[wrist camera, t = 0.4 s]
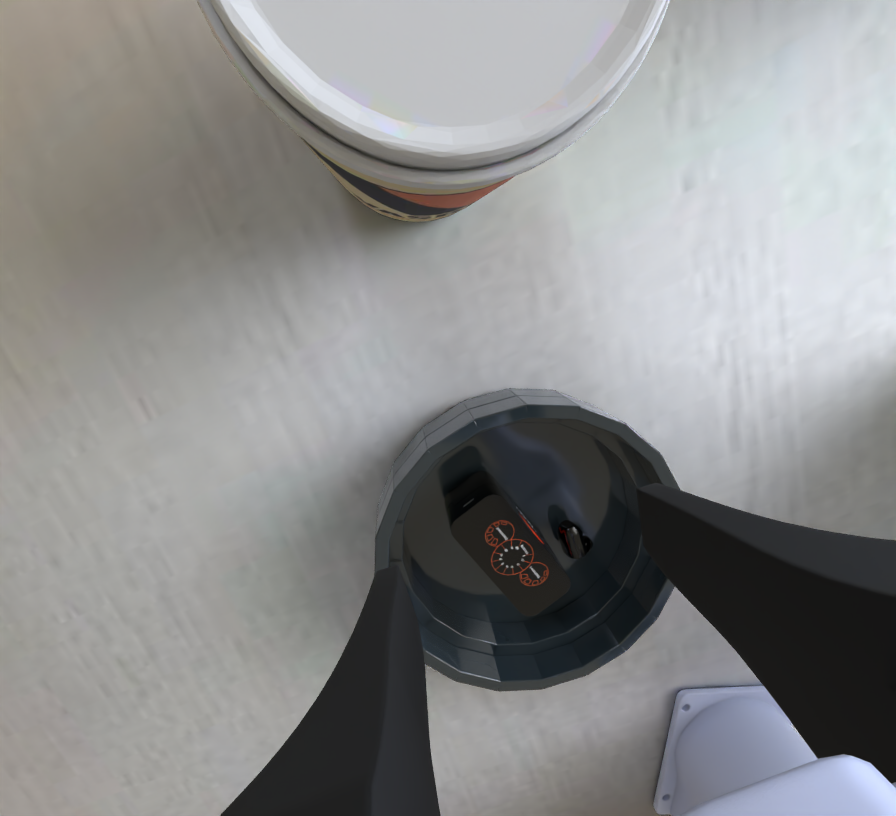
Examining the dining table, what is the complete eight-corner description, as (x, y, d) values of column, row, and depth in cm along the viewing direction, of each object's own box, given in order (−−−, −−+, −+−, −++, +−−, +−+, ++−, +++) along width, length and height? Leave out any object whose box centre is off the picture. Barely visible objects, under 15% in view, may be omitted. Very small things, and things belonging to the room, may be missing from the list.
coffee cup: (333, 263, 20) (247, 223, 8) (266, 11, 18) (18, -534, 6) (540, 219, 20) (728, 124, 9) (503, -32, 18) (698, -609, 6)
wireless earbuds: (519, 589, 25) (537, 632, 22) (438, 495, 23) (444, 527, 20) (589, 537, 24) (618, 573, 21) (512, 438, 23) (531, 461, 19)
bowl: (624, 633, 27) (658, 684, 23) (374, 641, 25) (371, 698, 21) (665, 392, 23) (713, 410, 20) (381, 382, 22) (378, 399, 18)
